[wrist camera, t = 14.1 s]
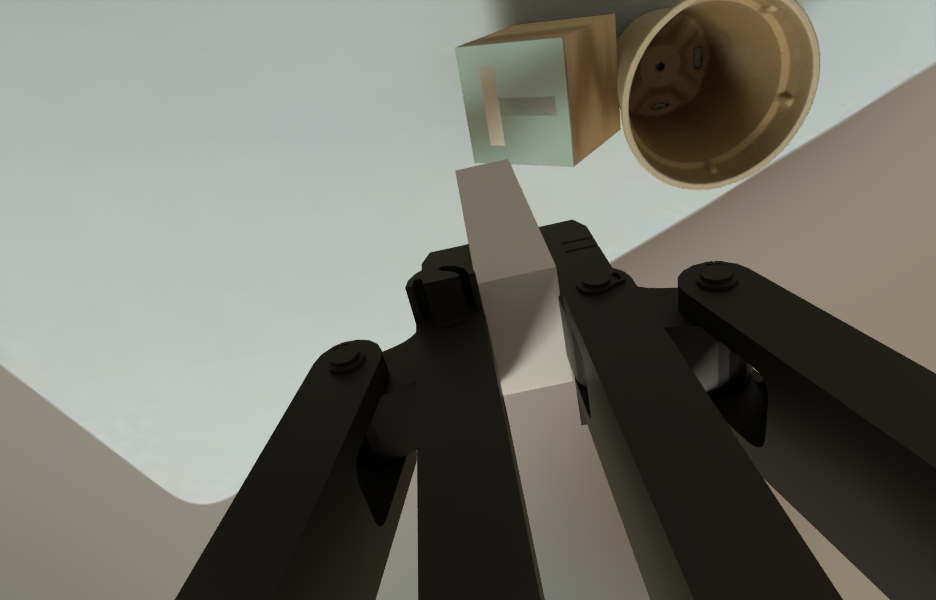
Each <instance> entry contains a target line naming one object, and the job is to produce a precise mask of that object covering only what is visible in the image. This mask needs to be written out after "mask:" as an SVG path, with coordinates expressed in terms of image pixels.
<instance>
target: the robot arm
mask: <svg viewBox="0 0 936 600" xmlns="http://www.w3.org/2000/svg"><path fill="white" fill-rule="evenodd" d="M456 177H457V182H458V188H459V193H460V199H461V204H462V210H463V215H464V221H465V226H466V232H467V237H468V243H469V244H467V245H463V246H458V247H454V248H449V249H445V250H440V251H435V252H431V253H429V255H428V256H427V257H426V259H425V260H424V262H423V263H422V271H420V272H418V273H416V274H415V275H414V276H413V277H412V278H411V279H409V280H408V282H407V285H406V287H405V288H406V292H407V295H408V298H409V302H410V305H411V308H412V312H413V315H414V318H415V322H416V333H415V334H414V335H413V336H412V337H411V338H409V339H408V340H406V341H405V342H403V343H401V344H399V345H397V346H395V347H393V348H391V349H388V350H386V351H384V352H382V350H381V349H380V347H379V345H378V344H376V343H374V342H372V341H370V340H354V341H349V342H344V343H341V344H338V345H336V346H334V347H332V348H331V349H329V350H328V351H326V352H325V353H323V354H322V355H321V356H320V357H319V358H318V359H317V361H316V362H315V363H314V364H313V366H312V368H311V369H310V371H309V373H308V374H307V376H306V378H305V380H304V381H303V383H302V385H301V386H300V388H299V390H298V391H297V393H296V395H295V397H294V398H293V400H292V402H291V403H290V405H289V407H288V408H287V410H286V412H285V414H284V415H283V417H282V419H281V420H280V422H279V424H278V425H277V427H276V429H275V431H274V432H273V434H272V436H271V437H270V439H269V441H268V442H267V444H266V446H265V447H264V449H263V451H262V453H261V454H260V456H259V458H258V459H257V461H256V463H255V464H254V466H253V468H252V470H251V471H250V473H249V475H248V476H247V478H246V480H245V481H244V483H243V485H242V487H241V488H240V490H239V492H238V493H237V495H236V497H235V498H234V500H233V502H232V504H231V505H230V507H229V509H228V510H227V512H226V514H225V516H224V517H223V519H222V521H221V522H220V524H219V526H218V527H217V529H216V531H215V532H214V534H213V536H212V538H211V539H210V541H209V543H208V545H207V546H206V548H205V549H204V551H203V553H202V554H201V556H200V558H199V560H198V561H197V563H196V565H195V566H194V568H193V570H192V571H191V573H190V575H189V577H188V578H187V580H186V582H185V583H184V585H183V587H182V588H181V590H180V592H179V594H178V596H177V597H176V599H175V600H376V596H377V592H378V589H379V586H380V583H381V579H382V576H383V573H384V569H385V566H386V562H387V559H388V556H389V552H390V549H391V546H392V542H393V539H394V536H395V532H396V529H397V526H398V522H399V519H400V515H401V512H402V509H403V505H404V501H405V499H406V495H407V492H408V488H409V485H410V481H411V478H412V475H413V472H414V468H415V465H416V461H417V470H418V471H417V473H418V474H417V478H418V481H417V482H418V600H545V598H544V593H543V589H542V583H541V578H540V573H539V569H538V564H537V559H536V554H535V549H534V544H533V539H532V534H531V529H530V524H529V519H528V514H527V509H526V504H525V499H524V495H523V490H522V485H521V480H520V475H519V470H518V465H517V460H516V455H515V450H514V445H513V441H512V435H511V430H510V425H509V421H508V416H507V411H506V407H505V403H504V398H503V396H504V395H509V394H513V393H518V392H523V391H528V390H532V389H537V388H542V387H546V386H551V385H556V384H561V383H566V382H570V381H572V373H571V368H572V371H573V374H574V376H575V383H576V390H577V397H578V404H579V411H580V418H581V425H585V424H587V425H588V428H589V430H590V433H591V436H592V439H593V442H594V444H595V447H596V450H597V453H598V455H599V458H600V461H601V464H602V467H603V469H604V472H605V475H606V478H607V480H608V483H609V486H610V489H611V491H612V494H613V497H614V500H615V503H616V505H617V508H618V511H619V514H620V516H621V519H622V522H623V525H624V528H625V530H626V533H627V536H628V539H629V542H630V544H631V547H632V550H633V553H634V556H635V558H636V561H637V564H638V567H639V569H640V572H641V575H642V578H643V581H644V583H645V586H646V589H647V592H648V594H649V597H650V600H843V599H842V598H841V596H840V595H839V593H838V592H837V590H836V589H835V587H834V585H833V584H832V582H831V581H830V579H829V578H828V577H827V575H826V573H825V572H824V570H823V569H822V567H821V566H820V564H819V563H818V561H817V560H816V558H815V557H814V555H813V553H812V552H811V550H810V549H809V547H808V546H807V544H806V543H805V541H804V540H803V539H802V537H801V535H800V534H799V532H798V531H797V529H796V528H795V526H794V525H793V523H792V522H791V520H790V518H789V517H788V516H787V514H786V513H785V511H784V510H783V508H782V506H781V505H780V503H779V502H778V500H777V499H776V497H775V496H774V494H773V493H772V491H771V490H770V488H769V486H768V485H767V483H766V482H765V480H766V481H767V482H768V483H769V484H770V485H771V486H772V487H773V488H774V489H775V490H776V491H778V493H780V495H782V496H783V497H784V498H785V499H786V500H787V501H788V502H789V503H790V504H791V505H792V506H793V507H794V508H795V509H796V510H797V511H798V512H799V513H800V514H801V515H802V516H803V517H804V518H806V519H807V520H808V521H809V522H810V523H811V524H812V525H813V526H814V527H815V528H816V529H817V530H818V531H819V532H820V533H821V534H822V535H823V536H825V538H826V539H827V540H828V541H830V542H831V543H832V544H833V545H834V546H835V547H836V548H837V549H838V550H839V551H840V552H841V553H842V554H843V555H844V556H845V557H846V558H847V559H848V560H849V561H850V562H851V563H853V565H855V566H856V567H857V568H858V569H859V570H860V571H861V572H862V573H863V574H864V575H865V576H866V577H867V578H868V579H869V580H870V581H871V582H872V583H873V584H874V585H875V586H876V587H878V588H879V589H880V590H881V591H882V592H883V593H884V594H885V595H886V596H887V597H888V598H889V599H890V600H936V374H935V373H934V372H932V371H930V370H928V369H926V368H925V367H923V366H921V365H919V364H917V363H916V362H914V361H912V360H910V359H909V358H907V357H905V356H903V355H902V354H900V353H898V352H896V351H894V350H893V349H891V348H889V347H887V346H886V345H884V344H882V343H880V342H878V341H877V340H875V339H873V338H871V337H869V336H868V335H866V334H864V333H862V332H861V331H859V330H857V329H855V328H854V327H852V326H850V325H848V324H847V323H845V322H843V321H841V320H839V319H838V318H836V317H834V316H832V315H831V314H829V313H827V312H825V311H823V310H822V309H820V308H818V307H816V306H814V305H812V304H811V303H809V302H807V301H806V300H804V299H802V298H800V297H799V296H797V295H795V294H793V293H791V292H790V291H788V290H786V289H784V288H783V287H781V286H779V285H777V284H775V283H774V282H772V281H770V280H768V279H767V278H765V277H763V276H761V275H759V274H757V273H756V272H754V271H752V270H750V269H748V268H746V267H744V266H741V265H739V264H735V263H728V262H723V261H715V262H712V261H711V262H705V263H701V264H697V265H693V266H691V267H690V268H687V269H686V270H684V271H683V272H682V273H681V274H680V275H679V277H678V288H644V287H638V286H637V285H636V284H635V282H634V281H633V279H632V278H631V277H630V276H629V275H628V274H626V273H625V272H624V271H621V270H618V269H615V268H612V267H611V265H610V263H609V262H608V260H607V259H606V257H605V255H604V254H603V252H602V251H601V249H600V247H599V246H598V244H597V243H596V241H595V239H594V238H593V236H592V235H591V233H590V231H589V230H588V228H587V227H586V226H585V225H582V224H580V223H578V222H576V221H574V220H569V221H564V222H560V223H555V224H551V225H546V226H542V227H538V225H537V223H536V221H535V218H534V216H533V214H532V212H531V209H530V207H529V205H528V203H527V200H526V198H525V196H524V194H523V192H522V189H521V187H520V185H519V183H518V180H517V178H516V176H515V174H514V171H513V169H512V167H511V165H510V162H509V160H508V159H505V160H501V161H497V162H492V163H488V164H483V165H479V166H474V167H470V168H466V169H461V170H457V171H456ZM753 367H754V368H755V369H756V370H757V371H758V372H759V373H760V374H759V373H758V372H757V371H755V370H754V369H753ZM416 450H417V451H416ZM763 478H764V479H765V480H764V479H763Z"/></svg>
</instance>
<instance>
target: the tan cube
mask: <svg viewBox="0 0 936 600" xmlns="http://www.w3.org/2000/svg"><path fill="white" fill-rule="evenodd" d="M455 51H456V57H457V63H458V68H459V74H460V80H461V86H462V92H463V97H464V103H465V109H466V115H467V121H468V127H469V132H470V138H471V144H472V150H473V156H474V161H475V163H492V162H497V161H501V160H505V159H508V160H509V162H510V164H517V165H542V166H567V167H574V166H575V165H576V164H578V163H579V162H580V161H581V160H583V159H584V158H585V157H587V156H588V155H589V154H590V153H592V152H593V151H594V150H595V149H597V148H598V147H599V146H600V145H602V144H603V143H604V142H605V141H607V140H608V139H609V138H610V137H612V136H613V135H614V134H615V133H617V132H618V131H619V130H620V110H619V100H618V92H617V77H618V65H617V43H616V21H615V14H607V15H598V16H589V17H580V18H571V19H563V20H554V21H545V22H536V23H527V24H519V25H514V26H511V27H508V28H506V29H503V30H500V31H498V32H495V33H492V34H490V35H487V36H484V37H482V38H479V39H476V40H474V41H471V42H469V43H466V44H463V45H461V46H458V47H455Z"/></svg>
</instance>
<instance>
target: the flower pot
mask: <svg viewBox="0 0 936 600" xmlns="http://www.w3.org/2000/svg"><path fill="white" fill-rule="evenodd" d="M667 22H669V23H668V24H666V23H667ZM616 43H617V65H618V77H617V92H618V100H619V108H620V109H621V118H622V125H623V130H624V134H625V137H626V140H627V142H628V145H629V147H630V149H631V151H632V153H633V154H634V156H635V157H636V159H637V160H638V162H639V163H640V164H641V165H642V167H643V168H644V169H645V170H647V171H648V172H649V173H650V174H651V175H653V176H654V177H656V178H657V179H659V180H660V181H662V182H664V183H666V184H668V185H672V186H675V187H678V188H682V189H689V190H709V189H714V188H721V187H724V186H726V185H730V184H732V183H735V182H738V181H740V180H742V179H744V178H746V177H748V176H750V175H752V174H753V173H755V172H757V171H759V170H760V169H761V168H763V167H764V166H766V165H767V164H768V163H769V162H771V161H772V160H773V159H774V158H775V157H776V156H777V155H778V154H779V153H780V152H781V151H782V150H784V148H785V147H786V146H787V145H788V144H789V142H790V141H791V140H792V139H793V137H794V136H795V134H796V133H797V132H798V130H799V128H800V127H801V125H802V124H803V122H804V120H805V118H806V116H807V115H808V113H809V110H810V108H811V106H812V104H813V100H814V97H815V93H816V91H817V87H818V81H819V75H820V51H819V44H818V39H817V36H816V33H815V31H814V28H813V26H812V23H811V21H810V19H809V17H808V15H807V14H806V13H805V10H804V9H803V8H802V7H801V5H799V3H797V2H796V0H682V1H680V2H679V3H678V4H676V5H675V6H674V7H669V8H661V9H656V10H653V11H650V12H648V13H645V14H644V15H642V16H640V17H638V18H637V19H635V20H634V21H633V22H631V23H630V25H629V26H628V27H627V28H626V29H625V30H624V31H623V33H622V34H621V35H620V37H619V38H618V40H617V42H616ZM696 47H701V49H702V57H701V65H700V67H699V68H694V49H695V48H696ZM659 63H662V64H664V69H663V70H661V71H660V70H658V69H657V66H658V64H659ZM658 102H660V103H665V102H667V103H668V106H666V107H664V108H659V109H652V108H651V107H650V106H651V105H654V104H658Z"/></svg>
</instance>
